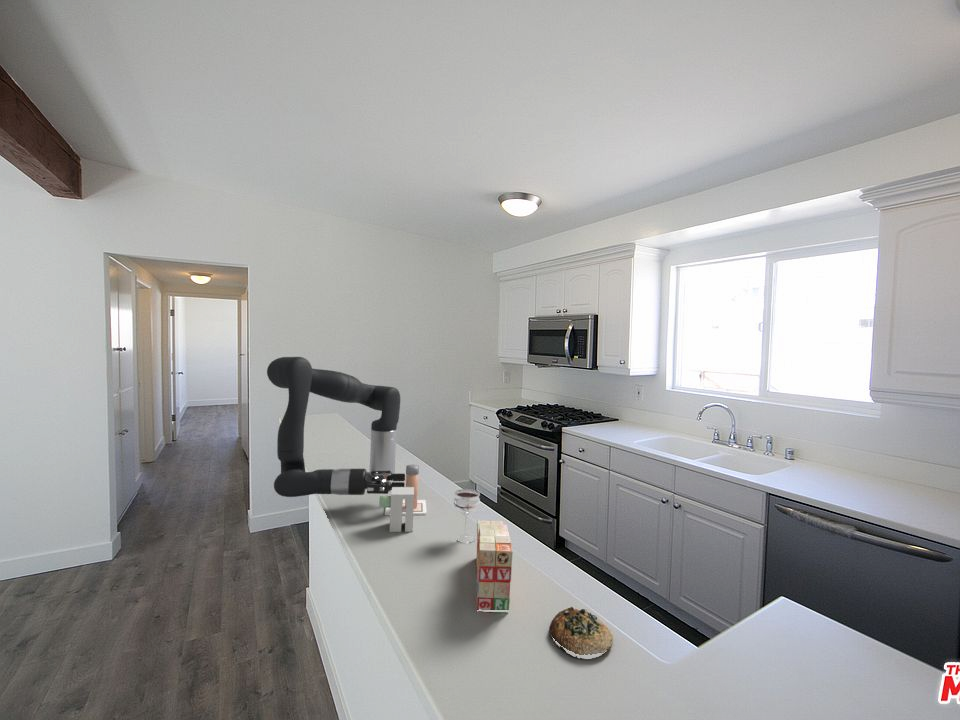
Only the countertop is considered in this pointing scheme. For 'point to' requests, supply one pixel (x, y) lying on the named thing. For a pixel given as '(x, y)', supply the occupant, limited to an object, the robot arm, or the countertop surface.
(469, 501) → the wineglass
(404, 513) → the white square board
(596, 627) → the bread roll
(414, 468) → the terracotta marker
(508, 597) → the stack of blocks
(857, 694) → the countertop surface
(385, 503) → the button
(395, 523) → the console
